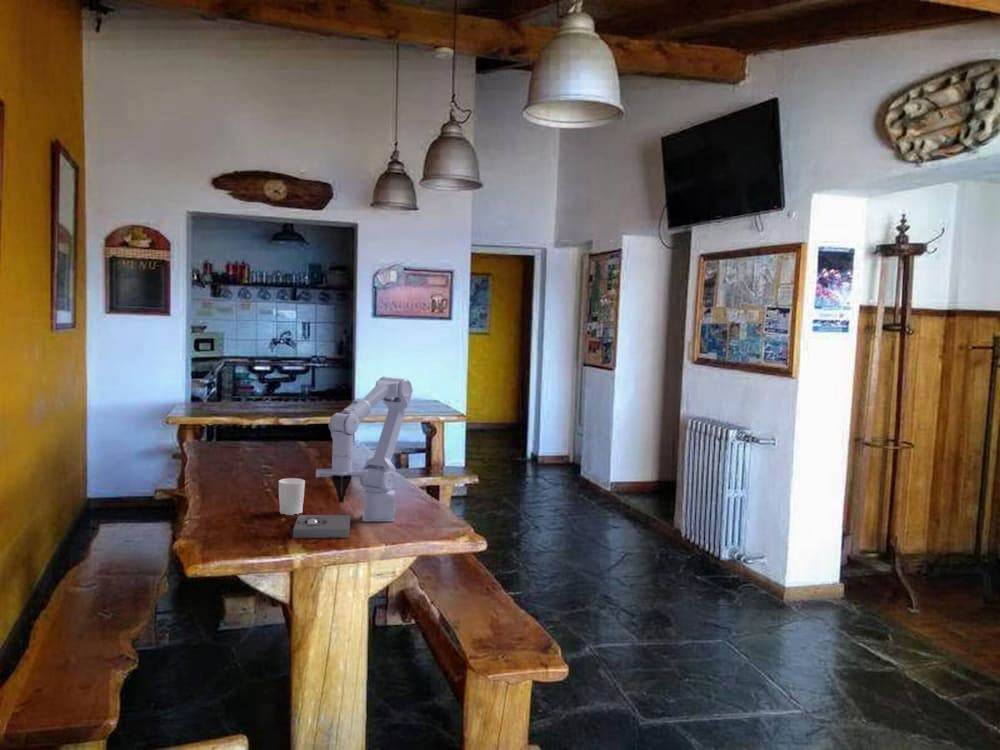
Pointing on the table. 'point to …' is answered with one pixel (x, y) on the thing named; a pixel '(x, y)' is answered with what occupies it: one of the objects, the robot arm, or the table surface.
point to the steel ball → (312, 521)
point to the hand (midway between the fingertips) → (341, 501)
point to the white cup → (291, 495)
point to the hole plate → (322, 526)
